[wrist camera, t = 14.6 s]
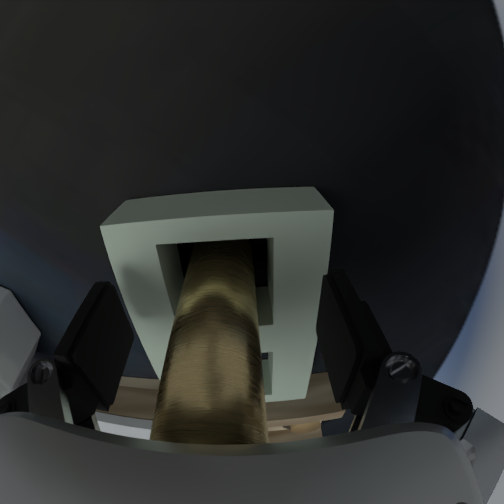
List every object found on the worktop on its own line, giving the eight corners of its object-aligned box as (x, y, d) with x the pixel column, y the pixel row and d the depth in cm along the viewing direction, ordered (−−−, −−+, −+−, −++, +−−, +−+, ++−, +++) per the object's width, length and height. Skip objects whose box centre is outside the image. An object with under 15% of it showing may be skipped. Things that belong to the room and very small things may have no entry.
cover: (89, 410, 16) (81, 438, 14) (240, 423, 16) (241, 459, 14) (134, 452, 21) (131, 474, 18) (248, 460, 21) (249, 484, 19)
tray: (96, 373, 19) (84, 408, 16) (334, 370, 20) (345, 410, 16) (135, 422, 24) (130, 450, 21) (316, 421, 25) (322, 451, 21)
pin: (189, 228, 13) (129, 430, 4) (251, 224, 13) (270, 436, 5) (197, 278, 15) (168, 466, 6) (253, 276, 15) (269, 468, 6)
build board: (125, 200, 12) (99, 226, 10) (314, 186, 12) (333, 210, 10) (177, 369, 19) (171, 402, 16) (298, 364, 19) (305, 398, 16)
